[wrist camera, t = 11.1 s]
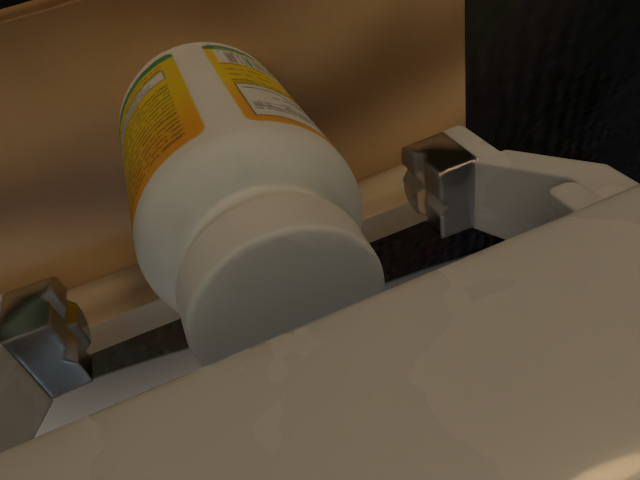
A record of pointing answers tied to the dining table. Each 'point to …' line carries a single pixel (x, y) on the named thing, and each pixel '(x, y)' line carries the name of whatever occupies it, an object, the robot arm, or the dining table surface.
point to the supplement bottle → (238, 201)
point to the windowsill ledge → (128, 60)
